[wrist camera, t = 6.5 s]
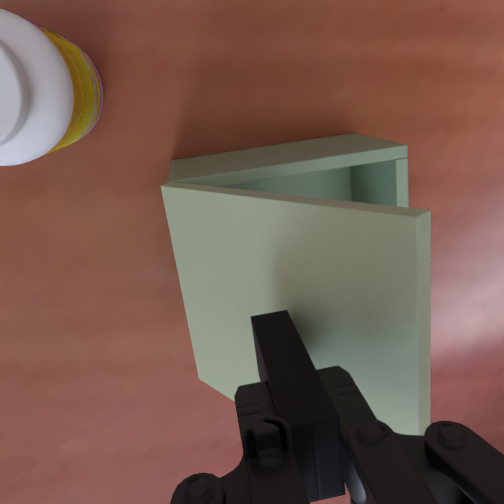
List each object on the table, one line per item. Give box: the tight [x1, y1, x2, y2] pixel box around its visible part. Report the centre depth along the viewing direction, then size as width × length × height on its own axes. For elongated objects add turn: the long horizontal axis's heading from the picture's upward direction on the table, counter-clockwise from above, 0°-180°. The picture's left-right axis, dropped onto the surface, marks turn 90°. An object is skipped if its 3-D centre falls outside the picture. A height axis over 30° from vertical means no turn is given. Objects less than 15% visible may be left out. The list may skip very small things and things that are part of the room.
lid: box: [161, 182, 431, 435], centre depth 20 cm, size 14×11×1 cm
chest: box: [167, 133, 409, 208], centre depth 30 cm, size 13×11×8 cm
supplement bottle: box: [0, 9, 103, 166], centre depth 23 cm, size 7×7×13 cm
